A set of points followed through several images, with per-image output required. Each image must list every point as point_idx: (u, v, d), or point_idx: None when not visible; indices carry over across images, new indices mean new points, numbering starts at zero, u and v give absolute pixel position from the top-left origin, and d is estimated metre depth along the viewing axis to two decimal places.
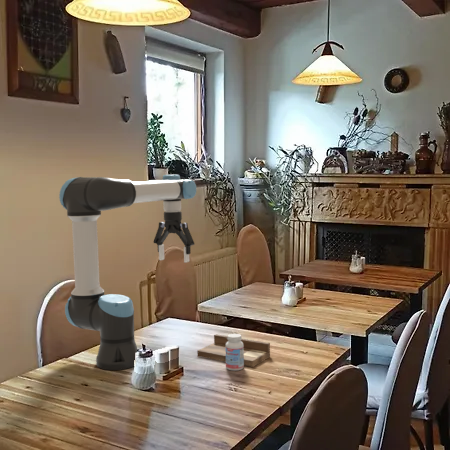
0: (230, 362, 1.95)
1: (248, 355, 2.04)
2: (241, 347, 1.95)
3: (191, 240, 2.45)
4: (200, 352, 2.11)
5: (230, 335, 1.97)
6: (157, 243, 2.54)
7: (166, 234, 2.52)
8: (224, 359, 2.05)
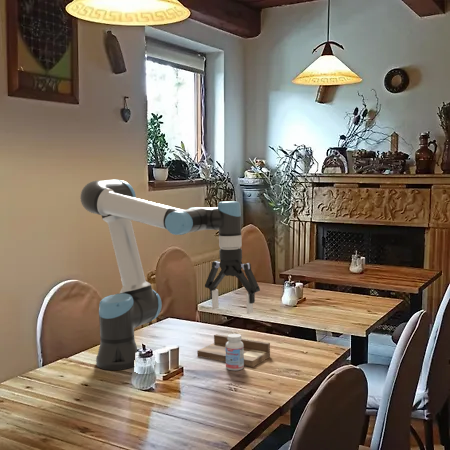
0: (230, 362, 1.95)
1: (248, 355, 2.04)
2: (241, 347, 1.95)
3: (256, 285, 1.92)
4: (200, 352, 2.11)
5: (230, 335, 1.97)
6: (210, 288, 2.00)
7: (222, 277, 1.98)
8: (224, 359, 2.05)
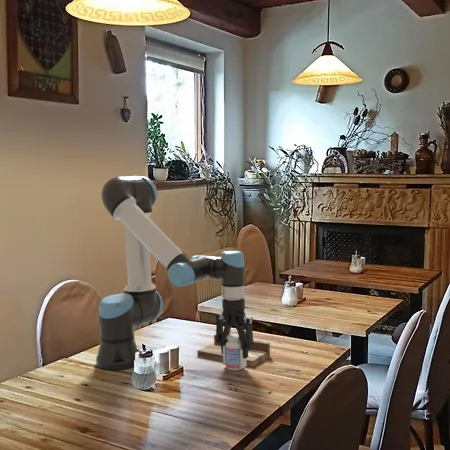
0: (230, 362, 1.95)
1: (248, 355, 2.04)
2: (241, 347, 1.95)
3: (251, 341, 1.93)
4: (200, 352, 2.11)
5: (230, 335, 1.97)
6: (221, 343, 1.98)
7: (228, 328, 1.98)
8: None
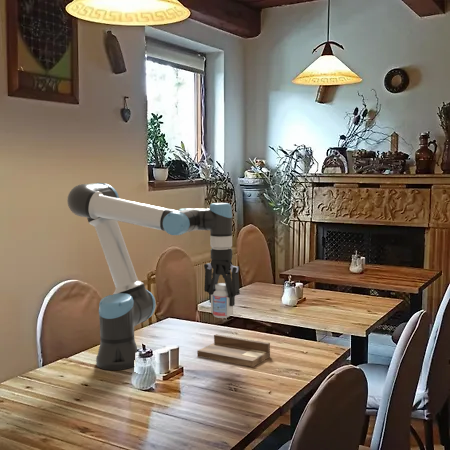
0: (217, 309, 2.03)
1: (248, 355, 2.04)
2: (228, 295, 2.03)
3: (237, 290, 2.01)
4: (200, 352, 2.11)
5: (218, 284, 2.05)
6: (209, 292, 2.06)
7: (216, 277, 2.05)
8: (224, 359, 2.05)
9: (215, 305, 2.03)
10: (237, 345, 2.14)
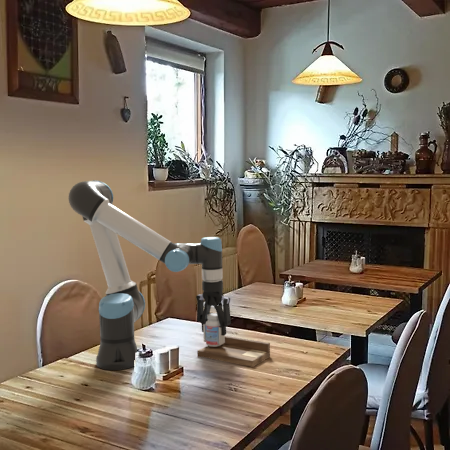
0: (209, 339, 2.13)
1: (248, 355, 2.04)
2: None
3: (228, 320, 2.11)
4: (200, 352, 2.11)
5: (210, 314, 2.15)
6: (201, 322, 2.16)
7: (208, 308, 2.15)
8: (224, 359, 2.05)
9: (208, 335, 2.13)
10: (237, 345, 2.14)
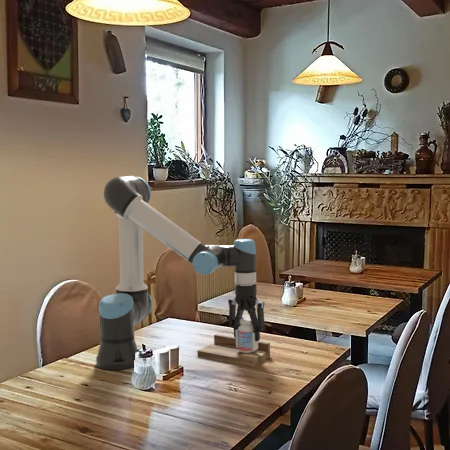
0: (242, 344, 2.05)
1: (248, 355, 2.04)
2: (253, 330, 2.05)
3: (262, 325, 2.03)
4: (200, 352, 2.11)
5: (242, 319, 2.07)
6: (234, 327, 2.08)
7: (241, 313, 2.08)
8: (224, 359, 2.05)
9: (241, 340, 2.05)
10: None
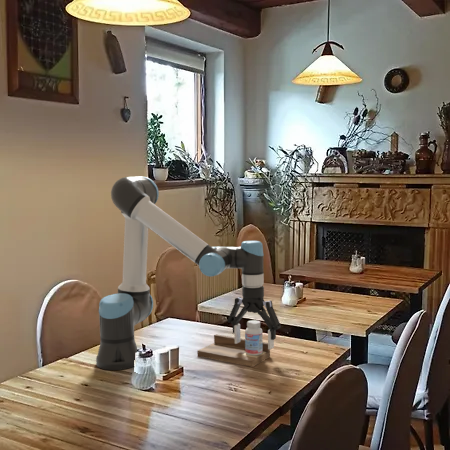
0: (249, 347, 2.03)
1: (248, 355, 2.04)
2: (260, 333, 2.04)
3: (277, 323, 2.00)
4: (200, 352, 2.11)
5: (249, 322, 2.05)
6: (232, 323, 2.08)
7: (244, 313, 2.07)
8: (224, 359, 2.05)
9: (247, 343, 2.04)
10: (237, 345, 2.14)
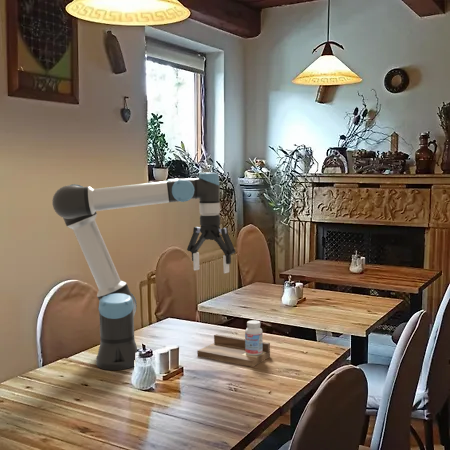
0: (249, 347, 2.03)
1: (248, 355, 2.04)
2: (260, 333, 2.04)
3: (232, 248, 2.13)
4: (200, 352, 2.11)
5: (249, 322, 2.05)
6: (191, 251, 2.22)
7: (202, 241, 2.20)
8: (224, 359, 2.05)
9: (247, 343, 2.04)
10: (237, 345, 2.14)
